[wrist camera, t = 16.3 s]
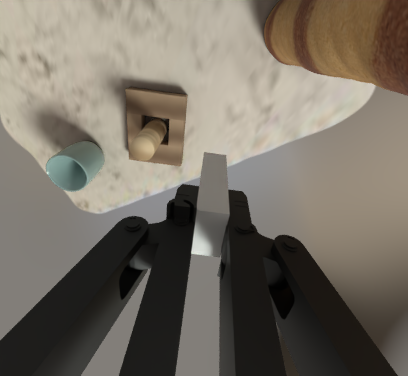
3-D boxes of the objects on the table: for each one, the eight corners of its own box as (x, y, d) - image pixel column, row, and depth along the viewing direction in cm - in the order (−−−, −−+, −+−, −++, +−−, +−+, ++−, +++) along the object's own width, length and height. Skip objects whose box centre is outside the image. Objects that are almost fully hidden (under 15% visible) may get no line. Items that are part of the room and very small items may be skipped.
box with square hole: (129, 86, 44) (125, 88, 42) (187, 94, 45) (185, 97, 42) (132, 154, 52) (129, 159, 50) (182, 161, 52) (180, 166, 50)
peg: (148, 116, 47) (128, 136, 37) (168, 118, 47) (154, 139, 37) (148, 135, 49) (130, 159, 39) (167, 137, 49) (154, 162, 39)
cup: (92, 130, 49) (65, 147, 41) (116, 160, 53) (96, 182, 44) (66, 146, 52) (36, 166, 43) (91, 174, 55) (67, 197, 46)
